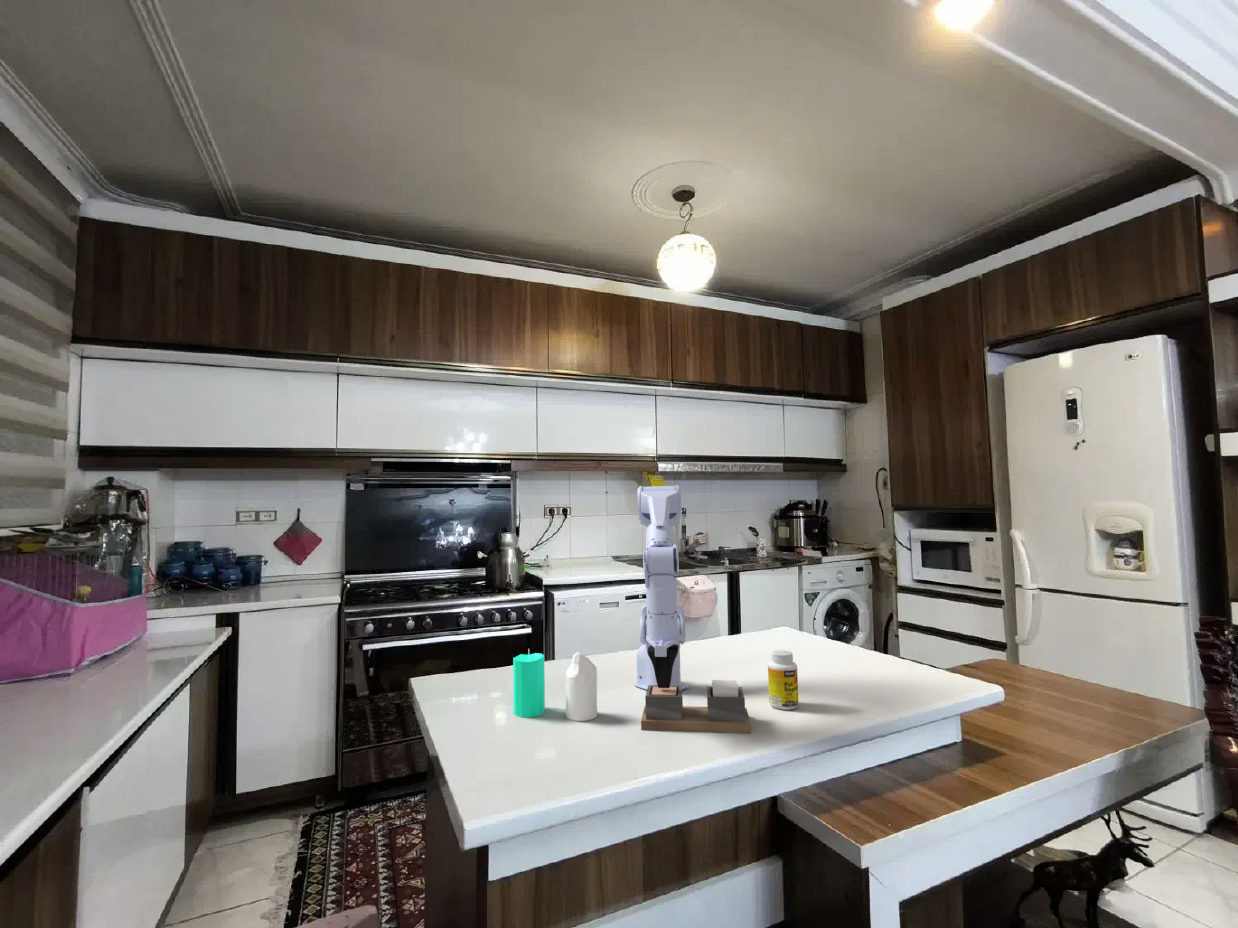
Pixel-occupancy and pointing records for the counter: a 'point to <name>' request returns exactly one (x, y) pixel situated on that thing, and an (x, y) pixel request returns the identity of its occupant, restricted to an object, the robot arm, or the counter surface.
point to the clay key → (664, 691)
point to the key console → (695, 713)
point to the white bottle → (581, 689)
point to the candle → (528, 685)
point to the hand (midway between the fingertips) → (664, 686)
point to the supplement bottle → (783, 681)
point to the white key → (725, 688)
